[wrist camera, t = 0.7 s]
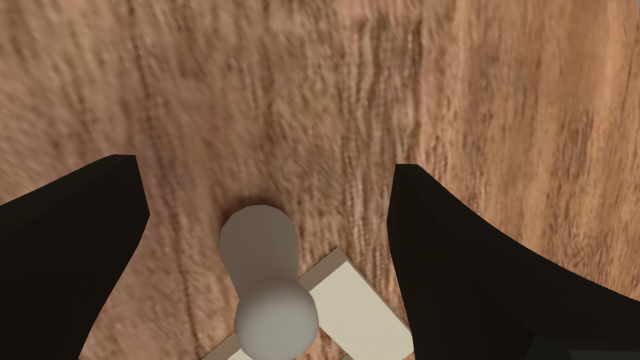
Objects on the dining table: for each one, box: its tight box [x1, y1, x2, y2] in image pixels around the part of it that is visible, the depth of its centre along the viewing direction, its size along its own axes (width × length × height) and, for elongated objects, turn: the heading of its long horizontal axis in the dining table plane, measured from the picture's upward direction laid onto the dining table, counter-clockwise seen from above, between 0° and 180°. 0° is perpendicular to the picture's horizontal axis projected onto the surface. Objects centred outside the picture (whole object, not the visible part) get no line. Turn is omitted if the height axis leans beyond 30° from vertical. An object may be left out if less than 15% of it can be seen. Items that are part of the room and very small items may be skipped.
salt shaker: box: [218, 204, 319, 360], centre depth 25 cm, size 6×6×13 cm
